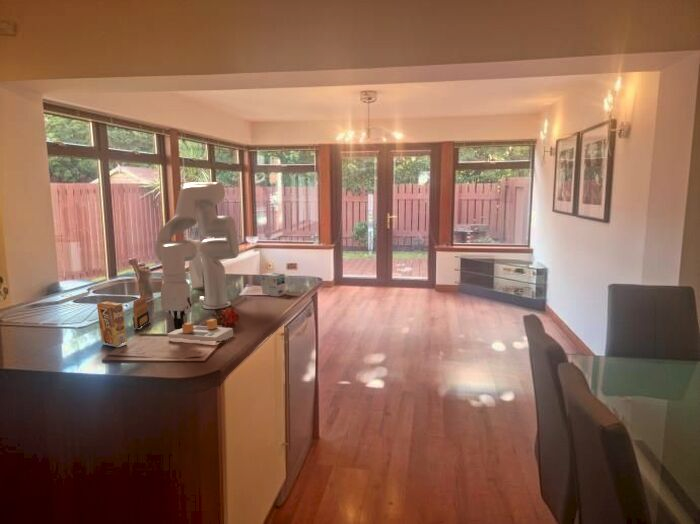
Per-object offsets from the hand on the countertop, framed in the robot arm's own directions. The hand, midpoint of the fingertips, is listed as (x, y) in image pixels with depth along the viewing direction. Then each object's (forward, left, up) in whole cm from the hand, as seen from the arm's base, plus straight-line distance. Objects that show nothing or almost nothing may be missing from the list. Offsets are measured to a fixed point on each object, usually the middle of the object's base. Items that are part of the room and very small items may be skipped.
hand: (179, 328), depth 173 cm
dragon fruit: (+8, +19, -5) cm, 21 cm away
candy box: (-20, -10, -5) cm, 23 cm away
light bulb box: (+1, +74, -5) cm, 74 cm away
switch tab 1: (+4, 0, -1) cm, 4 cm away
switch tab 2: (+10, +6, -1) cm, 11 cm away
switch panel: (+7, +3, -5) cm, 9 cm away
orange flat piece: (-27, +12, -5) cm, 30 cm away
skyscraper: (-50, +82, -5) cm, 96 cm away
